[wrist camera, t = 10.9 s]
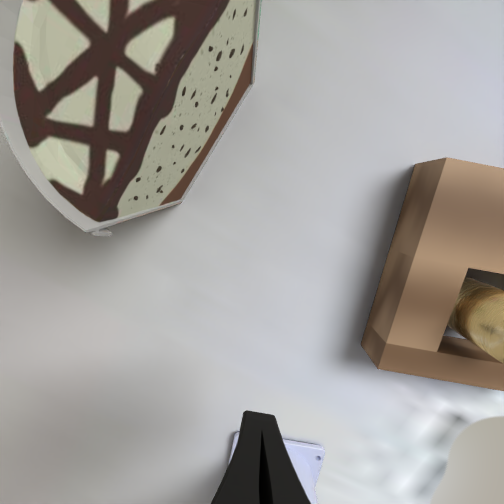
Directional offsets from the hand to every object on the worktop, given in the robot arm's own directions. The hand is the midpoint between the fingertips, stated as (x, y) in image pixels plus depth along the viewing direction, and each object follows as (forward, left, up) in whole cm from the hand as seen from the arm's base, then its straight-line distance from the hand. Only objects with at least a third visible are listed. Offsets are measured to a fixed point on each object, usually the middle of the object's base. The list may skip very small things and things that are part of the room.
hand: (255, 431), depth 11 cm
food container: (+14, +8, -10) cm, 19 cm away
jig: (+7, -15, -9) cm, 19 cm away
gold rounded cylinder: (+5, -15, -9) cm, 18 cm away
